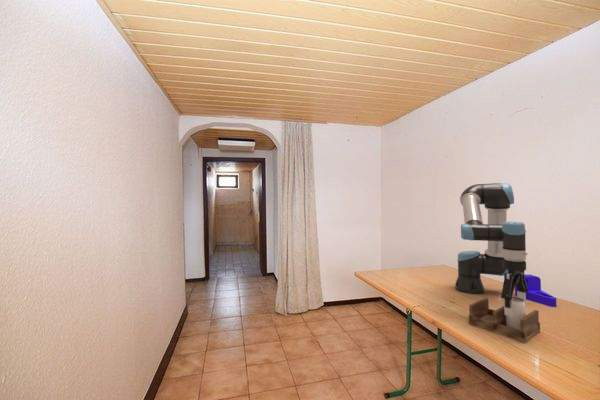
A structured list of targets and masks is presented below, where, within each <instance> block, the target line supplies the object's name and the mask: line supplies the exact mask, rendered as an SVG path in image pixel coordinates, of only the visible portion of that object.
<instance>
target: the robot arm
mask: <svg viewBox="0 0 600 400" xmlns="http://www.w3.org/2000/svg"><path fill="white" fill-rule="evenodd" d="M514 196H515V195H514V192H513V188H512V186H511V184H510V183H508V182H505V183H504V182H503V183H502V182H497V183H496V182H494V183H476V184H473V185H470V186H468V187H466V188H465V189H464V191H462V192H461V194H460V197H459V201H460V205H462V207H463V208H462V210H463V211H462V212H463V219H464V221H463V222H464V223H462V224H460V237H461V239H462V240H464V241H466V240H467V241H483V242H486V241H487V249H485V250H484V253H481V252H480V250H465V251H460V252H458V254H457V278H456V281H455V284H454V289H455V288H456V289H455V290H457V291H459V292H462V293H467V294H473V295H474V294H476V295H478V294H479V295H480V294H484V293H485V286H484V284H483V283H484V282H483V281H482V277H481V275H491V276H499V277H504V278H503V285H502V290H501V291H502V292H501V296H500V298H501V299H503V303H504V304H503V306H504V315H508V316H511V317H513V300H512V297H514V293H515V286H517V289H518V291H517V296H516V297H518V298H521V299H523V300H524V302H525V304H526V305H527V299H526V293H525V292H527V293H528V290H527V289H528V288H527V283H526V279H525V275H526V274H525V271H526V270H527V261H526V260H527V256H528V253H527V252H526V249H527V248H526V245H527V244H526V233H527V230H526V224H525V223H524V222H521V221H507V212H508V210H509V209H511V205H513V204H515V197H514ZM480 205H484V208H485V209H486V210H487V224H486V223H484V222H483V221H484V220H483V217H482V211H481V206H480Z"/></svg>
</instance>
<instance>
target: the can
mask: <svg viewBox="0 0 600 400" xmlns="http://www.w3.org/2000/svg"><path fill="white" fill-rule="evenodd" d="M512 300H513V317H511V316H508V315H506V326H507V327H511V328H514V329H517V330H520V319H521V318H523V317H525V316H526V315H527V303H526V304H525V302H524V300H523V299H521V298H518V297H517V296H512Z"/></svg>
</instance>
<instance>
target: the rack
mask: <svg viewBox="0 0 600 400" xmlns="http://www.w3.org/2000/svg"><path fill="white" fill-rule="evenodd" d="M489 305H490V300H489V298H488V297H485V298H482V299H480V300H478V301H475V302H473V303H471V304H469V305H468V308H469V311H468V312H469V314H468V324H469V325H471V326H474V327H477V328H480V329H484V330H486V331H489V332H492V333H496V334H497V335H501V336H504V337H507V338H510V339H514V340H516V341H520V342H522V343H525V344H526V343H528V342H529V341H530V340H532V339H533V338H534V337H535V336H537V334H539V333H540V332H541V322H540V321H539V317H540V316H539V310H536V309H533V310H531V312H529V313H527V314H526V316H525V317H523V318H521V319H520V330H517V329H514V328H511V327H507V326H506V315H504V305H503V306H501V307H499V308H497V309H492V308H490V307H489Z"/></svg>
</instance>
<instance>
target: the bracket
mask: <svg viewBox="0 0 600 400" xmlns="http://www.w3.org/2000/svg"><path fill="white" fill-rule="evenodd" d="M525 279H526V283H527V288H528V289H527V290H528V293H527V292H525V293H526V301H530V302H534V303H537V304H540V305H544V306H547V307H550V308H556V306H557V297H555V296H554V295H552V294H550V293H549V292H548V293H547V292H546V291H544V290H542V282H541V278H540V277H539V276H536V275H533V274H525ZM517 291H518V289H517V286H515V289H514V295H515V296H514V297H517Z"/></svg>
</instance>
